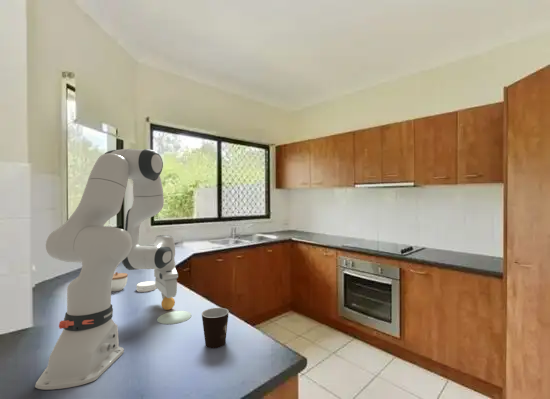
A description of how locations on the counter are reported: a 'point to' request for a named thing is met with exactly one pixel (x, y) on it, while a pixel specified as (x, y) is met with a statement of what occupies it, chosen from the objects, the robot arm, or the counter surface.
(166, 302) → the ball
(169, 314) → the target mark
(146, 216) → the robot arm
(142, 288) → the white round disc
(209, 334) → the coffee mug
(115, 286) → the lidded jar
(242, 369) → the counter surface
